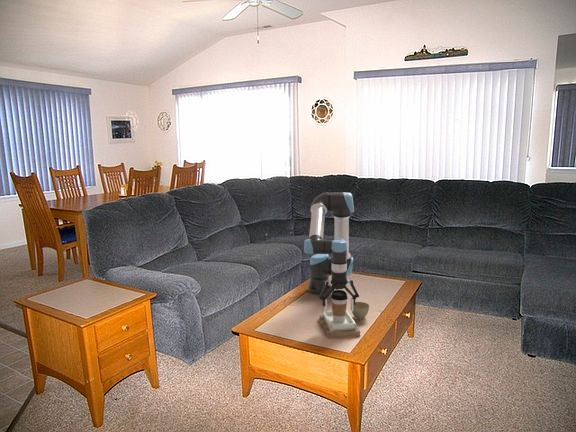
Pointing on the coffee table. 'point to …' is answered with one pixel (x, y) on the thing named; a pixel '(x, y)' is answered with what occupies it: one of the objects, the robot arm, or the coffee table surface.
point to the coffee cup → (339, 305)
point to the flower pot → (360, 310)
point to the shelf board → (338, 333)
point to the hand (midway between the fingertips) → (338, 311)
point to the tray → (333, 326)
